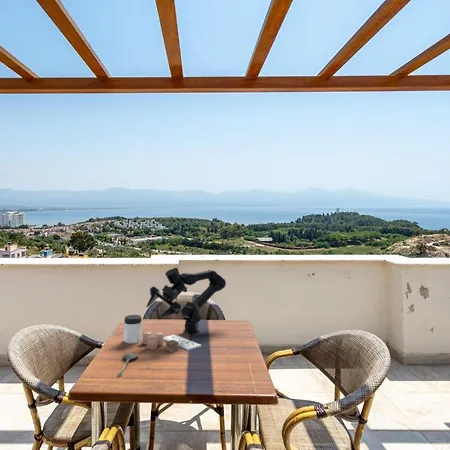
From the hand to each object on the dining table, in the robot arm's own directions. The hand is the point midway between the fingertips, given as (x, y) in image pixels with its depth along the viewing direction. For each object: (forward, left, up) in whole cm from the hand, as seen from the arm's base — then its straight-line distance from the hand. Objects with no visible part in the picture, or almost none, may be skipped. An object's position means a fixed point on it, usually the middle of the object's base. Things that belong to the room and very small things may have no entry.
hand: (153, 311), depth 184 cm
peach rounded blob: (+4, +4, -16) cm, 17 cm away
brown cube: (-1, +13, -16) cm, 21 cm away
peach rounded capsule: (-1, +2, -16) cm, 16 cm away
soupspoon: (+23, +15, -16) cm, 32 cm away
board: (-10, +8, -15) cm, 20 cm away
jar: (+6, -10, -16) cm, 19 cm away
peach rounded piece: (+2, -3, -16) cm, 16 cm away
